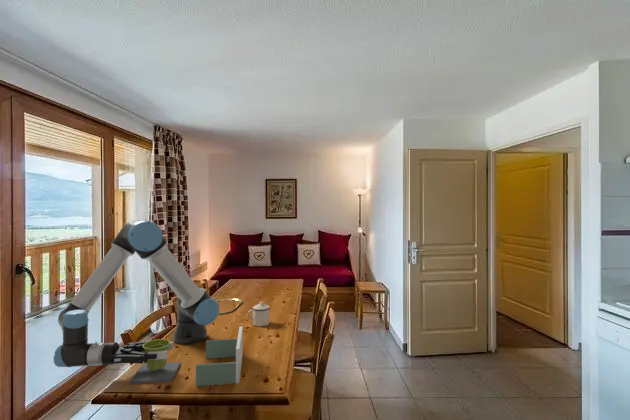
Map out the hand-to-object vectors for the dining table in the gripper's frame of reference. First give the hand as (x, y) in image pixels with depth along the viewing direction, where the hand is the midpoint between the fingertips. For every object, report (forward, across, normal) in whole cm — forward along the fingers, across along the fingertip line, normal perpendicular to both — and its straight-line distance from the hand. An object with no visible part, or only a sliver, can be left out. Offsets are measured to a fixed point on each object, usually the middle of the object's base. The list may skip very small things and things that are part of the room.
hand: (170, 350), depth 132 cm
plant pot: (-5, 0, +6) cm, 8 cm away
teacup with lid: (+33, +53, +8) cm, 62 cm away
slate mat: (-5, 0, +8) cm, 10 cm away
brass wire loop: (+11, +90, +9) cm, 91 cm away
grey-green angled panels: (+19, 0, +8) cm, 21 cm away
